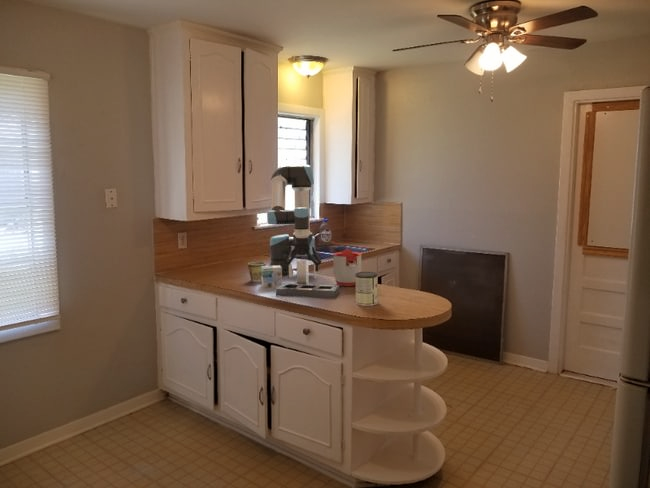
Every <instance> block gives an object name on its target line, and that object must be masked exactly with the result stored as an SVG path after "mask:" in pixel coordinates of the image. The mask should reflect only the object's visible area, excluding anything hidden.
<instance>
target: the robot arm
mask: <svg viewBox="0 0 650 488" xmlns="http://www.w3.org/2000/svg"><path fill="white" fill-rule="evenodd" d="M313 176H314V174H313V168H312V166H311V165H309V164H285V165H282V166H280V167H278V168H277V169H276V170H275V171H274V172H273V173H272V175H271V176H270V186H271V208H270V209H271V210H268V211H267V213H266V214H267V215H266V221H267V225H274V226H275V225H294V232H293V233H292V236H290V235H289V234H288V233H285V234H277V235H274V236H271V238H270V239H269V250H270V251H269V253H270V255H269V257H270V258H269V259H270V260H269V265H268V266H276V265H280V266H281V267H282V277H283V276H284V277H285V276H288V277H289V278H291V277H293V274H294V268H293V265H292V262H293V261H294V259H295V258H296V257H308V258H309V259H310V260H311V262H312V263H313V264H314V265H313V278H314V279H316V278H317V272H319V265H321V264H322V263H323V262H322V260H321V258H320V256H319V254H318V252H317V250H316V248H317V247H316V245H315V239H316V238H315V236H314V235H313V232H311V229H310V225H311V224H310V190H311V189H312V186H313V185H314V177H313ZM289 185H290V186H291V189H292V190H293V191H294V209H291V210H290V209H286V187H287V186H289Z"/></svg>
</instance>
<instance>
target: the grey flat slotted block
mask: <svg viewBox="0 0 650 488" xmlns="http://www.w3.org/2000/svg"><path fill="white" fill-rule="evenodd" d="M340 292H341V286H340V285H337V284H317V283H315V284H314V283H313V284H312V283H309V284H297V283H290V282H289V283H286V282H282V285H280V286H279V287H275V296H277V297H279V296H280V297H281V296H282V297H302V298H305V297H307V298H328V299H335V298H336V297H337V296H338V295H339V294H340Z"/></svg>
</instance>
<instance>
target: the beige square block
mask: <svg viewBox="0 0 650 488" xmlns="http://www.w3.org/2000/svg"><path fill="white" fill-rule="evenodd" d="M309 279H310V275H309V259H303V258H301V259H299V258H298V259H297V260H296V284H310V283H309V282H310V281H309Z"/></svg>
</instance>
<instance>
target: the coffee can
mask: <svg viewBox="0 0 650 488" xmlns="http://www.w3.org/2000/svg"><path fill="white" fill-rule="evenodd" d="M378 275H379V274H378V273H377V272H374V271H361V272H358V273H356V274H355V276H356V286H355V304H356V305H357V306H363V307H364V306H365V307H368V306H369V307H370V306H371V307H373V306H376V305H377V304H378Z"/></svg>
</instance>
